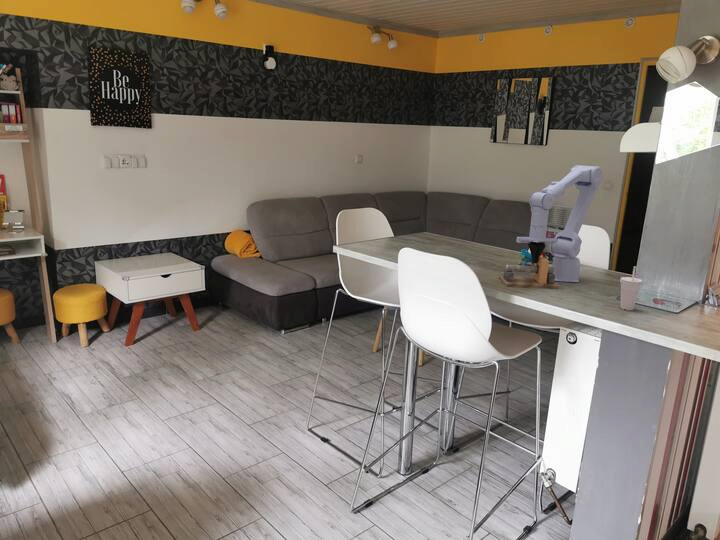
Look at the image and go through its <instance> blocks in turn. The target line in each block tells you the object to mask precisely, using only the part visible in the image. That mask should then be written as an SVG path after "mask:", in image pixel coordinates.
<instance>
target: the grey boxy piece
mask: <svg viewBox="0 0 720 540" xmlns="http://www.w3.org/2000/svg"><path fill="white" fill-rule="evenodd" d="M573 207H574V206H566V205H559V204H553V206H552V208H550V209H549V214H548V222H547V231H546V238H555V236H556V234H557V233H559V232H561V231H563V230H564V229H565V226H566V224H567V221H568V219H569V217H570V214H571V212H572V210H573ZM545 245H546V247H545V248H544V250H543V251H542V253H541V255H540V256H543V257H544V258H546V259H547V260H549V264H551V265H553V259H554V256H553V255H552V254H553V253H552V252H551V250H550V244H545Z"/></svg>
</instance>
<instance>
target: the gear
mask: <svg viewBox="0 0 720 540" xmlns="http://www.w3.org/2000/svg"><path fill="white" fill-rule="evenodd" d="M520 254H521V260H520V261H519V262H518V264H517V265H525V266H527V265H528V263H531V266H534V263H532V257H531V252H530V251H529V250H527V249H525V248H523V249H521V250H520Z"/></svg>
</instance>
